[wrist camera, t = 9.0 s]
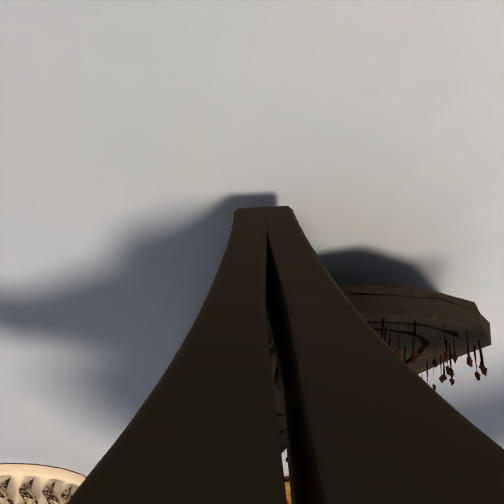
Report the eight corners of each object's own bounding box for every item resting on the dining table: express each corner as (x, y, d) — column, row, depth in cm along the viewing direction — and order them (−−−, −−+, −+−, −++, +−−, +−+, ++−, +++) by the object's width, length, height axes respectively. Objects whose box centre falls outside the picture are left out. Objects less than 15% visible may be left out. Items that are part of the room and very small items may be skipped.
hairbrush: (127, 527, 25) (302, 325, 8) (136, 462, 28) (285, 197, 10) (252, 528, 27) (601, 376, 10) (250, 468, 30) (529, 262, 13)
